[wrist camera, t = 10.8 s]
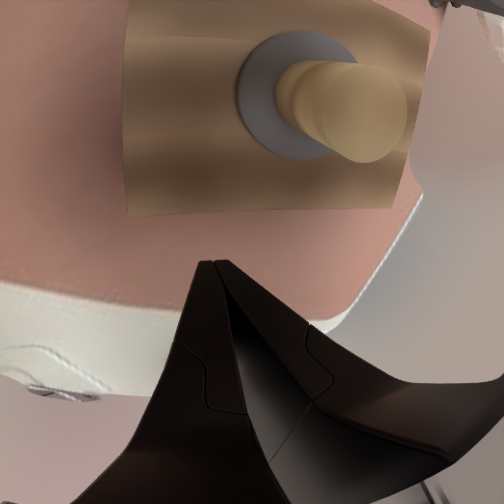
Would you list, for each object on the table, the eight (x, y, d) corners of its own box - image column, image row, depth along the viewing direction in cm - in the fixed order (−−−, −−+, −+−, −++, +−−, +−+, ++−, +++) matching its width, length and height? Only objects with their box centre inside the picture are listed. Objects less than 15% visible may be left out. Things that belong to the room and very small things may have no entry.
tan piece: (317, 142, 19) (408, 202, 12) (218, 136, 17) (266, 200, 10) (332, 48, 15) (443, 59, 8) (228, 30, 13) (294, -3, 6)
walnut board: (362, 186, 23) (391, 208, 20) (133, 189, 18) (127, 217, 15) (393, 29, 15) (430, 31, 12) (141, -19, 10) (136, -40, 7)
